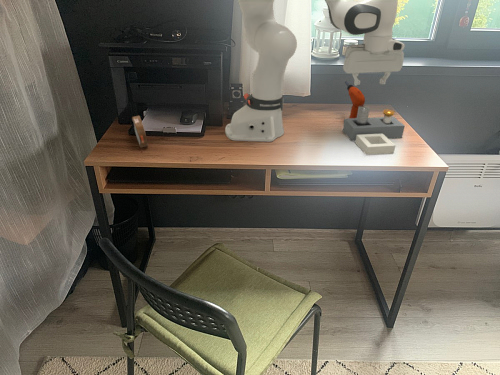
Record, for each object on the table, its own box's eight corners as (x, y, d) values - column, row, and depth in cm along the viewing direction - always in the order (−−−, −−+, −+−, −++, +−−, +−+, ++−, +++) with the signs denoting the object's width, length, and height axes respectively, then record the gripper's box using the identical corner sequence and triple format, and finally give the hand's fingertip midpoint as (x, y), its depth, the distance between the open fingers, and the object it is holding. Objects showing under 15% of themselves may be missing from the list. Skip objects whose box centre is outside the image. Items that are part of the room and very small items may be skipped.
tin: (149, 150, 130) (146, 127, 126) (140, 151, 129) (136, 128, 125) (142, 133, 142) (139, 111, 137) (133, 134, 141) (130, 112, 136)
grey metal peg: (356, 137, 142) (361, 109, 136) (352, 133, 145) (356, 105, 140) (366, 136, 143) (371, 108, 137) (362, 132, 146) (367, 105, 140)
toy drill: (345, 108, 164) (352, 74, 155) (361, 130, 150) (370, 95, 140) (334, 108, 164) (341, 75, 154) (349, 131, 149) (357, 95, 140)
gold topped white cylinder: (381, 135, 143) (386, 113, 139) (376, 131, 147) (381, 109, 142) (391, 135, 144) (396, 112, 139) (386, 131, 147) (391, 109, 142)
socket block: (351, 140, 140) (353, 128, 137) (342, 130, 147) (344, 118, 144) (401, 138, 142) (404, 125, 140) (390, 128, 150) (393, 116, 147)
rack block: (366, 154, 130) (367, 147, 129) (355, 142, 138) (356, 134, 137) (393, 153, 132) (395, 145, 130) (380, 141, 140) (382, 133, 138)
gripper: (350, 46, 122) (344, 88, 130) (409, 44, 125) (400, 86, 132) (343, 42, 128) (338, 83, 135) (400, 40, 130) (392, 80, 138)
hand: (369, 84), depth 134 cm, fingers open, 8 cm apart
